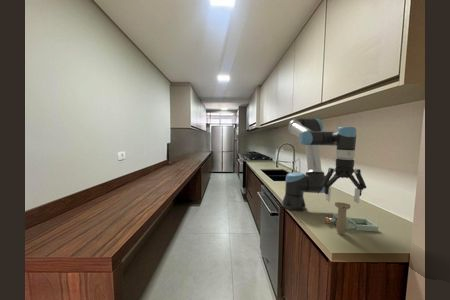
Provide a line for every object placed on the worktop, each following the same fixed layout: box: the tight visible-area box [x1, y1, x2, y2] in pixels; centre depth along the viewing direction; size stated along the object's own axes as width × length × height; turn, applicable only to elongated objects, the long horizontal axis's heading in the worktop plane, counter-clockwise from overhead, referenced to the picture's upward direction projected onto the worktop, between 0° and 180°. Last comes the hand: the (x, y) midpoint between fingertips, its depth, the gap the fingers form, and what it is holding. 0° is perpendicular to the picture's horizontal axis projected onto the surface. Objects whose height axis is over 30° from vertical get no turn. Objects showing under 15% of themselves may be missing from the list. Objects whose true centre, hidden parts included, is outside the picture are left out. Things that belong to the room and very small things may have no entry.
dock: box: [332, 213, 379, 232], centre depth 100 cm, size 10×18×5 cm, turn 86°
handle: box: [334, 201, 351, 235], centre depth 91 cm, size 5×6×15 cm
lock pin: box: [324, 216, 337, 224], centre depth 101 cm, size 3×7×3 cm, turn 86°
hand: (342, 201), depth 90 cm, fingers open, 13 cm apart
